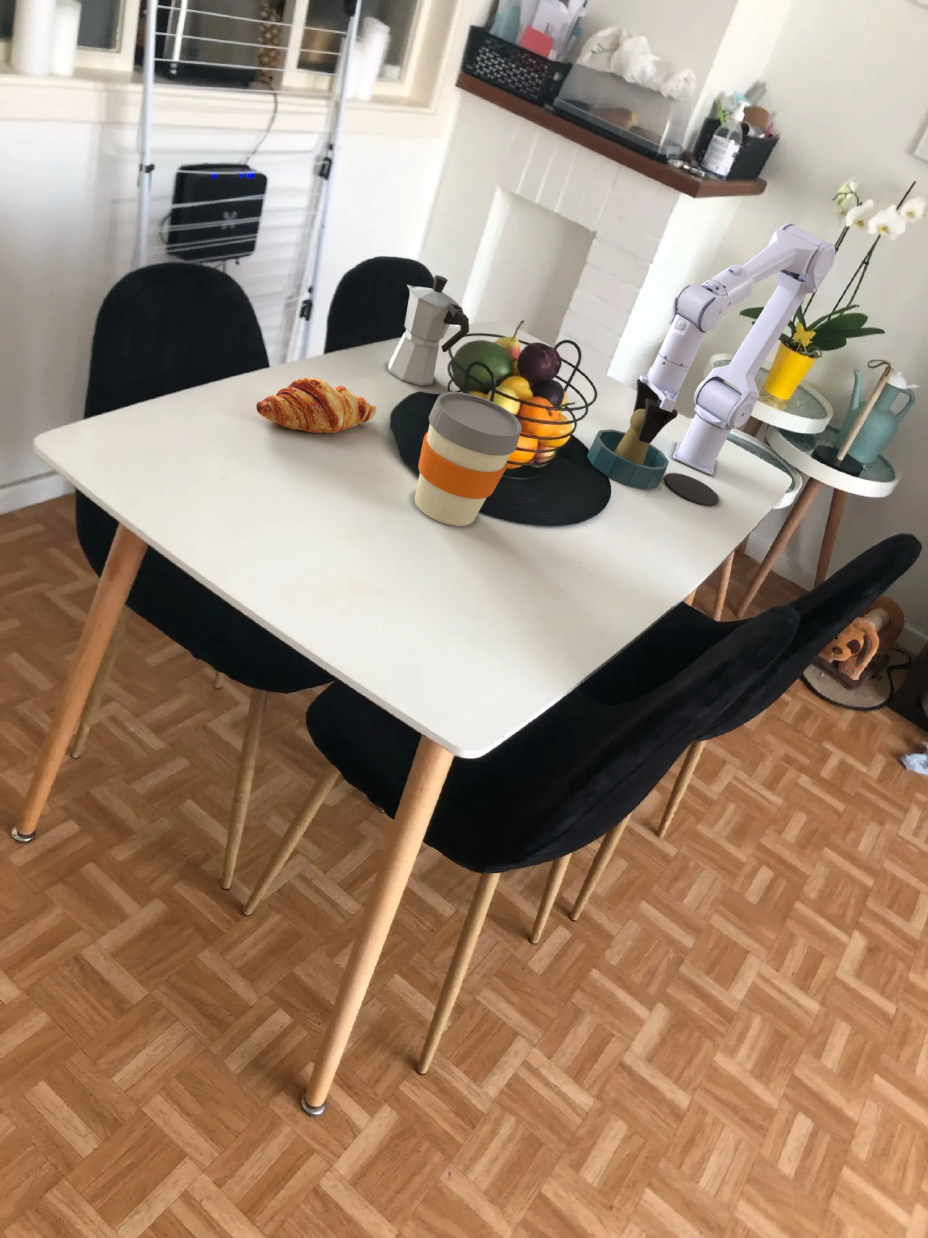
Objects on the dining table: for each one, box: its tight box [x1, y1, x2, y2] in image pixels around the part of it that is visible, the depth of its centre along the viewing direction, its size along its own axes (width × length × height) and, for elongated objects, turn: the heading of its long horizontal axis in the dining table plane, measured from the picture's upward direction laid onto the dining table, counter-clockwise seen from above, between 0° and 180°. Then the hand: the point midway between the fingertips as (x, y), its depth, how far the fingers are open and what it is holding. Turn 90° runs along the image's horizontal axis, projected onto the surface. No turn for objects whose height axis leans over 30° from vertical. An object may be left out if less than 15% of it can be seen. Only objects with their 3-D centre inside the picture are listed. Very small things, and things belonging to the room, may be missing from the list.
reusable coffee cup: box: [414, 391, 523, 527], centre depth 138 cm, size 12×12×15 cm
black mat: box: [663, 472, 720, 507], centre depth 179 cm, size 10×10×1 cm
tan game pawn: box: [614, 409, 649, 465], centre depth 174 cm, size 6×6×11 cm
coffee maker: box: [387, 274, 470, 387], centre depth 175 cm, size 15×9×18 cm, turn 50°
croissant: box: [256, 377, 377, 434], centre depth 150 cm, size 21×10×8 cm, turn 130°
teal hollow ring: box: [586, 428, 670, 490], centre depth 176 cm, size 13×13×4 cm
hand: (640, 431), depth 173 cm, fingers open, 7 cm apart
